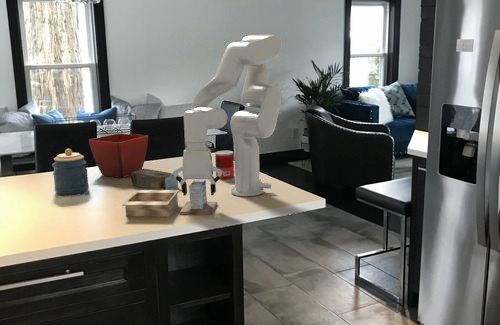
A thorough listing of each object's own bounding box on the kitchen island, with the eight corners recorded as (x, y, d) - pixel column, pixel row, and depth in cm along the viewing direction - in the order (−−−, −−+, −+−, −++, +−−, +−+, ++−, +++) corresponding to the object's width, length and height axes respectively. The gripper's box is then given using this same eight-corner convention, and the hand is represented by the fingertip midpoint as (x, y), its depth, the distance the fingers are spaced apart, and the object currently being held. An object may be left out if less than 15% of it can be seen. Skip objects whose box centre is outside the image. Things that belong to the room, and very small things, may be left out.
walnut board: (217, 204, 194) (217, 201, 194) (212, 214, 183) (211, 211, 182) (187, 204, 195) (186, 201, 195) (179, 214, 184) (179, 211, 183)
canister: (95, 191, 215) (91, 148, 212) (65, 198, 206) (61, 153, 202) (78, 186, 224) (74, 144, 220) (49, 193, 215) (44, 149, 211)
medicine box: (202, 209, 185) (201, 185, 183) (189, 209, 185) (188, 185, 183) (207, 203, 192) (206, 179, 191) (194, 203, 193) (193, 179, 191)
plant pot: (90, 176, 241) (87, 139, 238) (121, 167, 257) (118, 132, 254) (121, 181, 232) (118, 142, 228) (151, 171, 247) (149, 135, 244)
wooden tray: (179, 203, 197) (179, 190, 195) (168, 219, 179) (167, 204, 178) (138, 203, 198) (137, 190, 197) (123, 218, 180) (122, 204, 179)
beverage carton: (165, 192, 213) (164, 176, 211) (130, 186, 223) (129, 171, 221) (178, 187, 219) (178, 172, 218) (144, 182, 229) (143, 167, 228)
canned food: (237, 176, 236) (236, 151, 233) (227, 180, 229) (226, 154, 227) (223, 174, 240) (222, 149, 237) (212, 178, 233) (211, 153, 231)
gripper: (223, 143, 187) (225, 191, 191) (173, 144, 189) (176, 191, 192) (220, 148, 180) (222, 197, 184) (169, 148, 181) (172, 197, 185)
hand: (198, 194), depth 188 cm, fingers open, 9 cm apart
